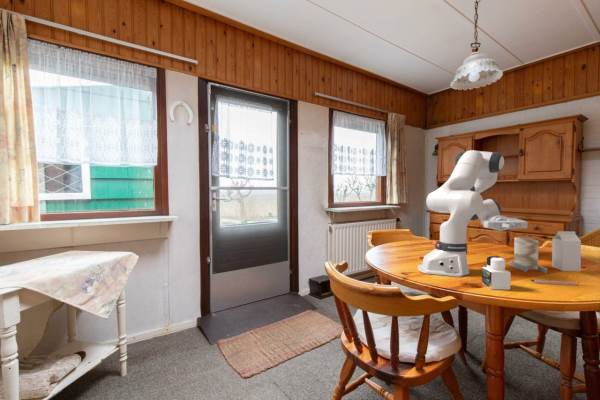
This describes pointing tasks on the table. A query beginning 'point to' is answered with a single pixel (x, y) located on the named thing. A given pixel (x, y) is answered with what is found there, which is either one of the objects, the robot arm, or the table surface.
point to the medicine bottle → (496, 274)
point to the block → (526, 252)
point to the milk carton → (566, 251)
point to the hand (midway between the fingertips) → (511, 226)
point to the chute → (543, 272)
